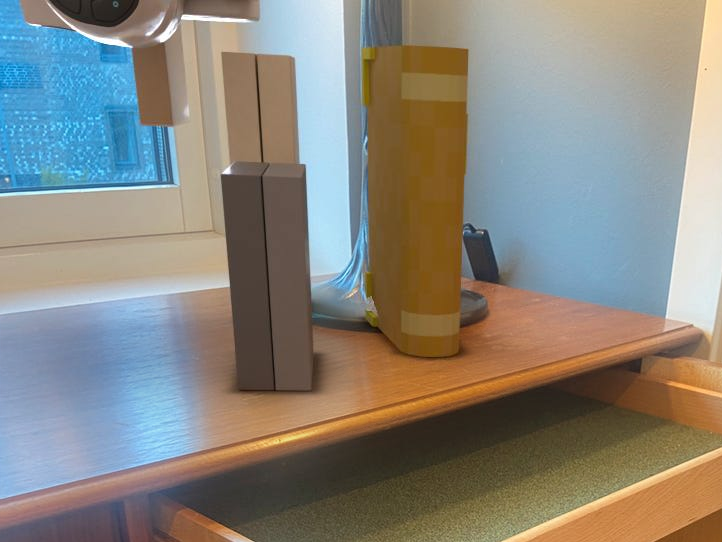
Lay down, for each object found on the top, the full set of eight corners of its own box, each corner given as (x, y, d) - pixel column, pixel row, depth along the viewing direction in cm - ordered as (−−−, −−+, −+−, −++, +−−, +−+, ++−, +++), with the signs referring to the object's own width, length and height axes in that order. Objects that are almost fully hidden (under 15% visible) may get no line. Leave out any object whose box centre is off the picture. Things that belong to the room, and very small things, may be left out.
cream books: (242, 322, 99) (221, 51, 87) (251, 295, 111) (234, 54, 99) (302, 323, 100) (290, 55, 88) (305, 296, 112) (295, 57, 100)
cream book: (139, 125, 89) (107, -149, 79) (160, 120, 99) (133, -123, 89) (173, 127, 89) (145, -146, 79) (189, 121, 100) (166, -120, 90)
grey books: (238, 390, 78) (220, 173, 70) (249, 353, 88) (234, 161, 80) (311, 390, 79) (301, 176, 71) (313, 354, 89) (305, 164, 81)
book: (365, 318, 103) (361, 47, 91) (425, 317, 105) (429, 51, 93) (401, 358, 90) (402, 44, 77) (470, 355, 91) (482, 49, 79)
